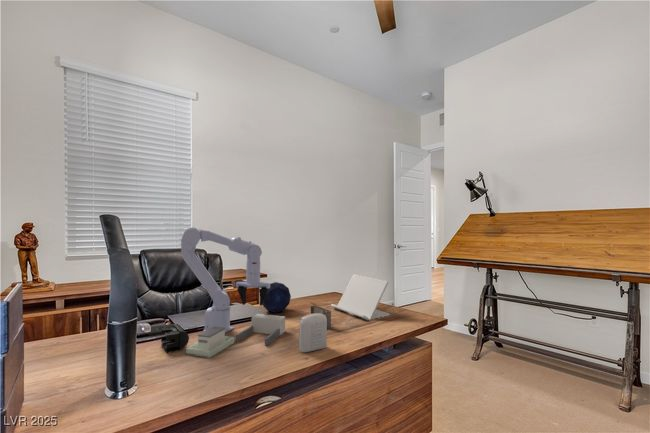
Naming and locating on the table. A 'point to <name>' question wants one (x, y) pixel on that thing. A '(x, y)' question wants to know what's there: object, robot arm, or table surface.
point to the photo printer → (312, 332)
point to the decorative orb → (277, 297)
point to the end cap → (174, 338)
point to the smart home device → (158, 329)
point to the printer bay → (264, 327)
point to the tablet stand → (363, 297)
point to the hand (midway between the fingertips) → (252, 304)
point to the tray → (204, 353)
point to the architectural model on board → (322, 311)
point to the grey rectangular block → (211, 338)
